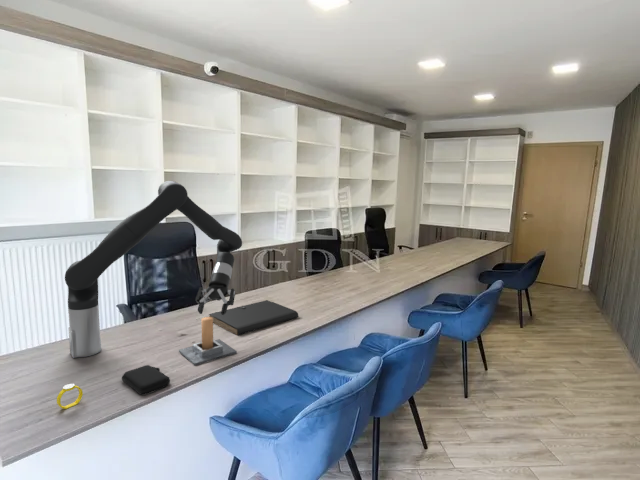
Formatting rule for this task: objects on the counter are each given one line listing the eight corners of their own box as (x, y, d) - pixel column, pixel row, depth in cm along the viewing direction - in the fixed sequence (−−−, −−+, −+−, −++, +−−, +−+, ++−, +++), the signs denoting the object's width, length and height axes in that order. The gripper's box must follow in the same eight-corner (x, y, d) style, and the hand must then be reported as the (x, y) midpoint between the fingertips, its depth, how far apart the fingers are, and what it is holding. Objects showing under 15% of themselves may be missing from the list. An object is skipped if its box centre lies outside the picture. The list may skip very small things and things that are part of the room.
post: (204, 353, 137) (204, 321, 136) (200, 349, 140) (199, 318, 139) (215, 350, 140) (214, 319, 138) (210, 347, 143) (209, 316, 141)
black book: (266, 299, 196) (298, 311, 179) (266, 307, 196) (298, 319, 180) (208, 313, 173) (238, 328, 156) (208, 321, 173) (238, 338, 156)
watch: (61, 413, 102) (58, 393, 101) (56, 410, 103) (53, 390, 102) (85, 401, 107) (82, 382, 106) (80, 398, 108) (77, 379, 107)
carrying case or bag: (176, 384, 118) (152, 369, 127) (175, 375, 117) (152, 360, 127) (141, 398, 110) (119, 381, 119) (141, 388, 109) (119, 372, 119)
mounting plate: (194, 365, 130) (194, 357, 129) (178, 351, 140) (178, 344, 140) (236, 353, 140) (236, 345, 140) (219, 341, 151) (219, 334, 150)
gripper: (201, 270, 150) (189, 308, 140) (236, 272, 149) (227, 309, 139) (206, 280, 156) (195, 317, 146) (240, 282, 155) (232, 319, 145)
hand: (211, 313), depth 142 cm, fingers open, 8 cm apart
